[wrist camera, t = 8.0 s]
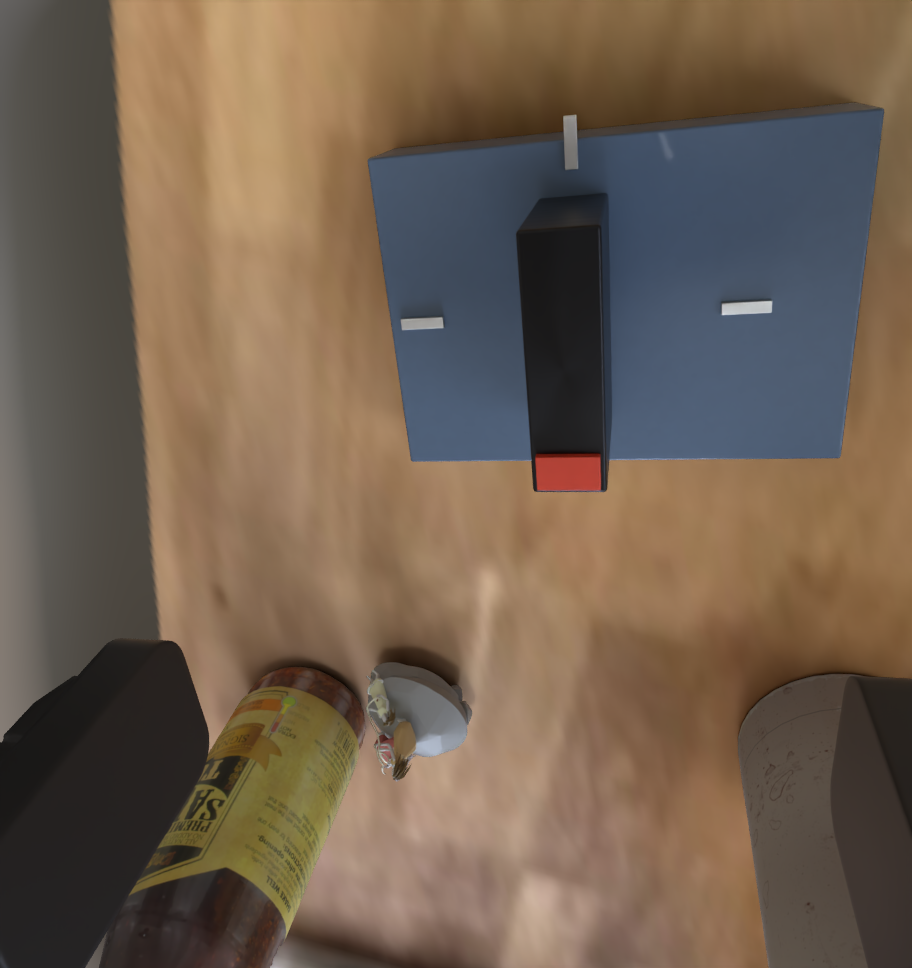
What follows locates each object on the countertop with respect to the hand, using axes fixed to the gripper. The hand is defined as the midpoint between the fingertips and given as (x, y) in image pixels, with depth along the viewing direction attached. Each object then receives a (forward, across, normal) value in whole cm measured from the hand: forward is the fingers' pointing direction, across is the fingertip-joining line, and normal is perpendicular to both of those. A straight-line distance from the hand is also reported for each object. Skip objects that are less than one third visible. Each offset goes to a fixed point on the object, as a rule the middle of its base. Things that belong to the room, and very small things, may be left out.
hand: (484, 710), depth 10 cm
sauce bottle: (+20, +14, +20) cm, 32 cm away
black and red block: (+17, 0, 0) cm, 17 cm away
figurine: (+20, +8, +18) cm, 28 cm away
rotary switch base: (+20, -1, 0) cm, 20 cm away
